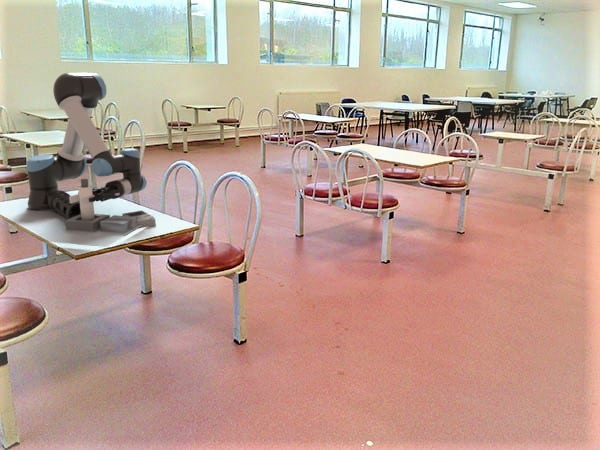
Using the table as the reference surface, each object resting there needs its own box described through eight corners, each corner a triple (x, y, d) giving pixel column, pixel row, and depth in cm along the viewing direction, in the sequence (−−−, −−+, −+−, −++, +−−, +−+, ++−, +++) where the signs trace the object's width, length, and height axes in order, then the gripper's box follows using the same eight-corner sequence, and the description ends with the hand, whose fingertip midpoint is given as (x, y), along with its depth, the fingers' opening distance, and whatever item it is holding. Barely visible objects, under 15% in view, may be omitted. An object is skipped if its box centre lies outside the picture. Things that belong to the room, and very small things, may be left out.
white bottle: (86, 218, 210) (82, 177, 205) (97, 219, 209) (93, 178, 204) (79, 222, 206) (74, 180, 201) (90, 223, 205) (86, 181, 200)
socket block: (84, 224, 216) (83, 212, 214) (110, 226, 213) (109, 214, 212) (66, 232, 204) (64, 220, 203) (93, 235, 202) (92, 223, 200)
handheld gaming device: (136, 229, 211) (136, 220, 210) (122, 221, 222) (122, 212, 221) (157, 226, 216) (156, 217, 215) (142, 218, 227) (142, 210, 226)
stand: (115, 226, 213) (114, 215, 211) (137, 228, 211) (136, 217, 209) (101, 234, 203) (100, 221, 202) (124, 236, 201) (123, 223, 200)
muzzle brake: (92, 224, 219) (66, 224, 212) (69, 210, 239) (45, 209, 232) (94, 202, 218) (68, 201, 211) (70, 190, 238) (46, 188, 231)
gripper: (135, 199, 219) (95, 213, 198) (101, 194, 225) (59, 207, 204) (134, 182, 216) (93, 194, 196) (100, 177, 223) (57, 188, 202)
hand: (76, 200), depth 200 cm, fingers closed on white bottle, 5 cm apart
